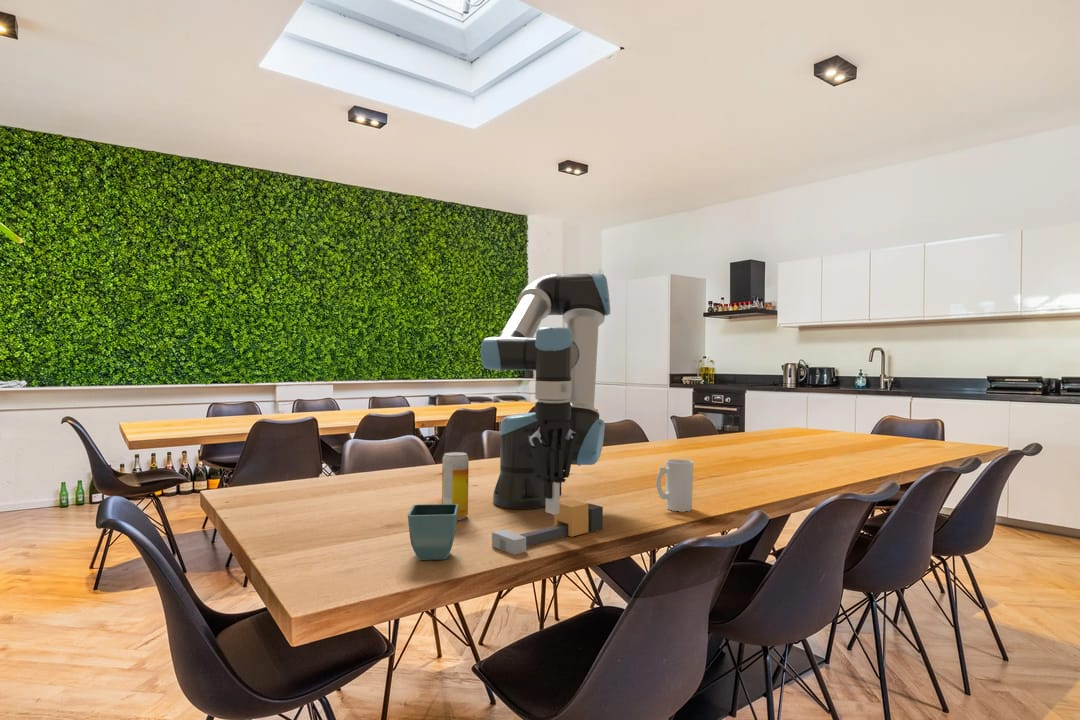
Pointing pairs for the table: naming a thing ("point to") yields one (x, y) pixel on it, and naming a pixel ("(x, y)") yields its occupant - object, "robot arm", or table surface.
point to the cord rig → (542, 533)
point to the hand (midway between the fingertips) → (552, 512)
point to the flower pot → (432, 530)
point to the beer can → (455, 481)
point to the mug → (677, 484)
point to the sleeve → (573, 516)
